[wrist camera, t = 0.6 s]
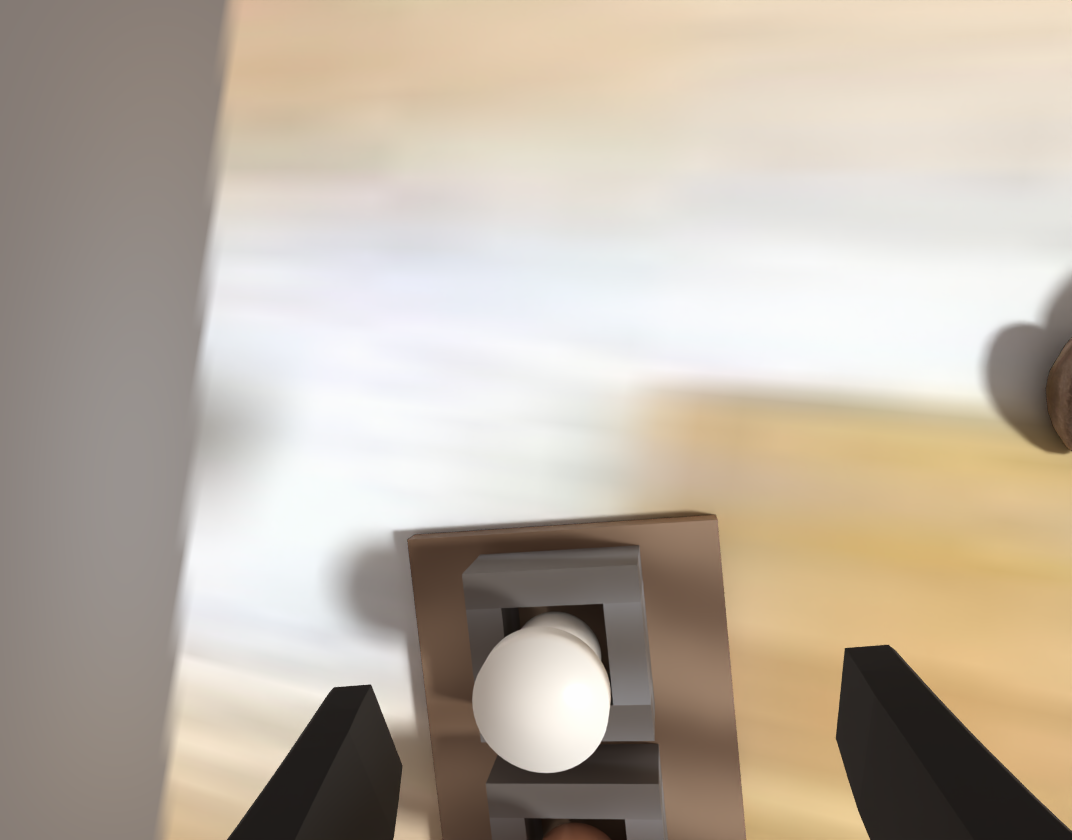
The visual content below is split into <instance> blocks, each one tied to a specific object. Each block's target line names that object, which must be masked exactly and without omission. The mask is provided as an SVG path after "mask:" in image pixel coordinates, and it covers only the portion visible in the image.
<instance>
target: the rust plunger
mask: <svg viewBox="0 0 1072 840" xmlns="http://www.w3.org/2000/svg"><path fill="white" fill-rule="evenodd" d="M542 840H611V839H610V838H609V837H608V836H607V835H606V834H605V833H604V832H602V831H601V830H599V829H598V828H595V827H593V826H591V825H588V824H584V823H566V824H562V825H559V826H557V827H555V828H553V829H552V830H551V831H549V832H548V833H547V834H546V835H545V837H544V838H543V839H542Z"/></svg>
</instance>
